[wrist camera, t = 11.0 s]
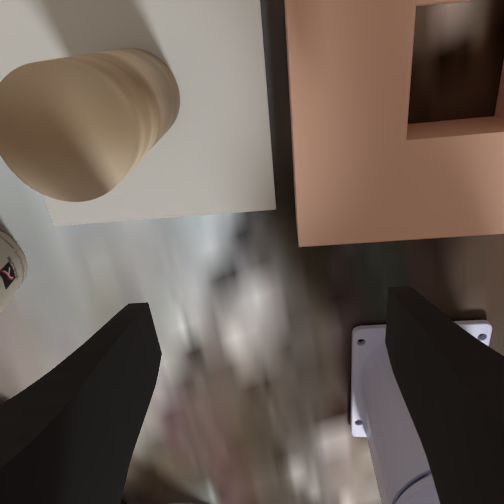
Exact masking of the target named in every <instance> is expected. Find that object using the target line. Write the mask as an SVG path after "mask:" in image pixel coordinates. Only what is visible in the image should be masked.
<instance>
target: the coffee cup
mask: <svg viewBox="0 0 504 504" xmlns="http://www.w3.org/2000/svg"><path fill="white" fill-rule="evenodd" d="M26 275H27V262H26V259H25V255H24V253H23V252H22V250H21V249H20V247H19V246H18V244H17V243H16V242H15V241H14V240H13V239H12V238H11V237H10V236H9V235H7V234H6V233H4V232H2V231H1V230H0V313H1V312H2V310H3V309H4V308H5V306H6V305H7V304H8V302H9V301H10V299H11V298H12V297H13V295H14V294H15V292H16V291H17V290H18V288H19V287H20V285H21V284H22V282H23V281H24V279H25V277H26Z"/></svg>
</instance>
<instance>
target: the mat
mask: <svg viewBox="0 0 504 504" xmlns="http://www.w3.org/2000/svg"><path fill="white" fill-rule="evenodd" d="M123 48H137V49H142V50H145V51H148V52H150V53H152V54H154V55H155V56H157V57H158V58H159V59H161V60H162V61H163V62H164V63H165V64H166V65H167V67H168V68H169V69H170V70H171V72H172V73H173V75H174V77H175V79H176V82H177V84H178V88H179V93H180V108H179V112H178V116H177V118H176V120H175V122H174V124H173V125H172V126H171V128H170V129H169V130H168V131H167V132H166V133H165V134H164V135H163V136H162V137H161V139H160V140H159V141H158V142H157V143H156V144H155V145H154V146H153V147H152V148H151V149H150V150H149V151H148V152H147V153H146V154H145V156H144V157H143V158H142V159H141V160H140V161H139V162H138V163H137V164H136V165H135V166H134V167H133V168H132V169H131V170H130V171H129V173H128V174H127V175H126V176H125V177H124V178H123V179H122V180H121V181H120V182H119V183H118V184H117V185H116V186H115V187H114V188H113V189H112V190H111V191H109V192H108V193H106V194H105V195H103V196H101V197H99V198H96V199H93V200H90V201H84V202H67V201H61V200H57V199H53V198H50V197H48V196H45V195H43V194H42V195H43V197H44V200H45V203H46V206H47V209H48V212H49V215H50V217H51V220H52V223H53V226H62V225H75V224H89V223H102V222H116V221H129V220H143V219H156V218H170V217H184V216H197V215H211V214H224V213H238V212H251V211H265V210H276V198H275V185H274V172H273V159H272V147H271V134H270V121H269V108H268V95H267V82H266V69H265V56H264V43H263V30H262V17H261V4H260V0H0V75H1V78H2V80H3V78H4V77H5V76H6V75H7V74H9V73H10V72H11V71H13V70H14V69H16V68H18V67H20V66H22V65H25V64H28V63H32V62H37V61H44V60H51V59H57V58H64V57H70V56H77V55H84V54H90V53H97V52H103V51H110V50H117V49H123Z"/></svg>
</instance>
